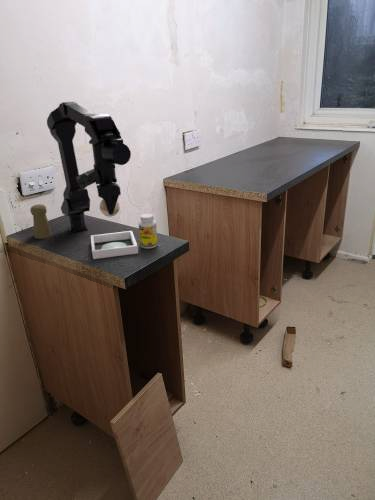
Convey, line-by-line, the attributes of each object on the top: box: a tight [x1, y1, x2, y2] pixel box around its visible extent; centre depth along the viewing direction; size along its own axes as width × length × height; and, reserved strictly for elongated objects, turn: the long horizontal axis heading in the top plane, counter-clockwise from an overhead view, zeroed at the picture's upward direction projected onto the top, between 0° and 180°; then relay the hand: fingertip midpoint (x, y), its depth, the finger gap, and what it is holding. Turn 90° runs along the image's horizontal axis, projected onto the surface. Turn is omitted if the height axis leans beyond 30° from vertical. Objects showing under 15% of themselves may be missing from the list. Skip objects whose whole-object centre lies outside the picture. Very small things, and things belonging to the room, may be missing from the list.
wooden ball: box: [99, 199, 121, 218], centre depth 122 cm, size 6×6×6 cm
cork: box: [30, 203, 53, 240], centre depth 137 cm, size 6×6×11 cm
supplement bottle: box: [138, 213, 158, 249], centre depth 126 cm, size 6×6×10 cm
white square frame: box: [90, 230, 139, 260], centre depth 127 cm, size 14×14×2 cm
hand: (110, 211), depth 122 cm, fingers closed on wooden ball, 6 cm apart
